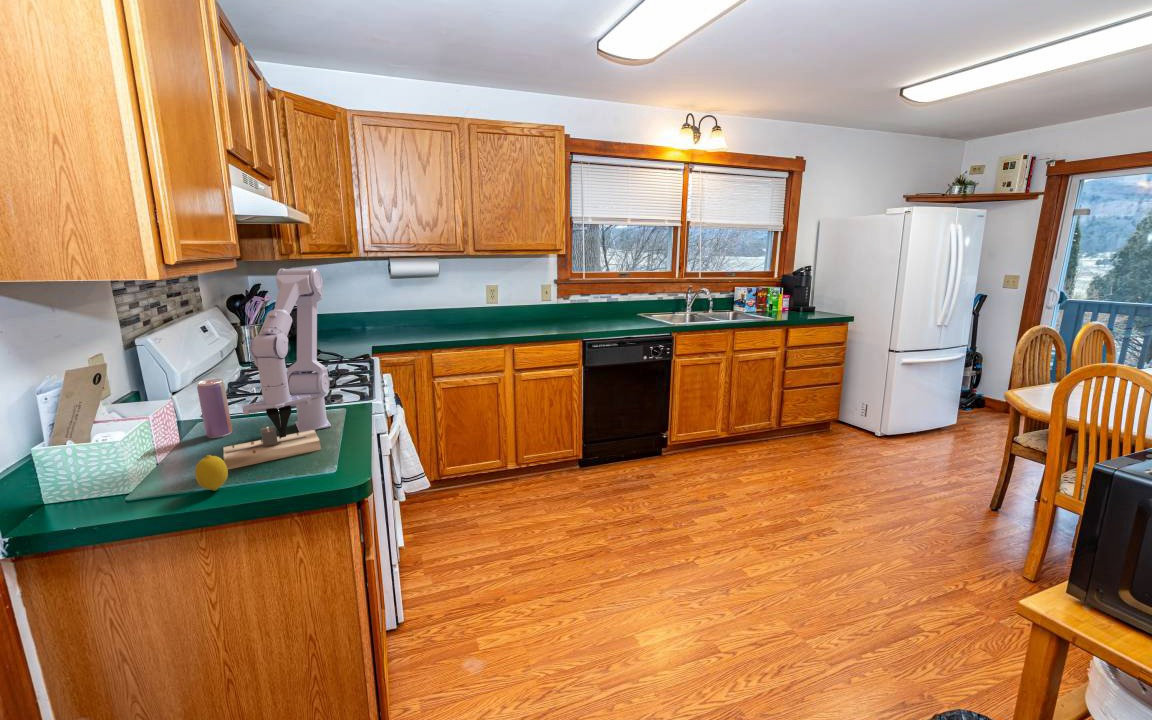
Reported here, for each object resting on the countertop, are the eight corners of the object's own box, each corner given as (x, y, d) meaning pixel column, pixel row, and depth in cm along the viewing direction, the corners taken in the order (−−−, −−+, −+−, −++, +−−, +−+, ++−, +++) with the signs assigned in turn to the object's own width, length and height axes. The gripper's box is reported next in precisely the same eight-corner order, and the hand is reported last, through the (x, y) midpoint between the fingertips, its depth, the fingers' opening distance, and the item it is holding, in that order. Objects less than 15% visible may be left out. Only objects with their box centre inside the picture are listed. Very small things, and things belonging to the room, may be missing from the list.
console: (225, 456, 125) (223, 446, 125) (315, 438, 136) (314, 429, 136) (225, 470, 118) (223, 459, 118) (320, 449, 129) (319, 439, 128)
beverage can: (219, 439, 136) (209, 385, 133) (200, 438, 137) (190, 384, 134) (238, 431, 142) (229, 379, 138) (220, 429, 143) (210, 378, 140)
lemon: (221, 482, 112) (214, 448, 110) (236, 487, 110) (229, 452, 108) (193, 493, 107) (186, 457, 106) (208, 499, 105) (201, 463, 103)
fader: (262, 441, 127) (260, 428, 126) (276, 438, 129) (274, 425, 128) (263, 446, 124) (261, 433, 123) (277, 443, 125) (275, 430, 125)
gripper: (239, 392, 117) (249, 448, 120) (310, 382, 125) (317, 434, 128) (238, 385, 123) (247, 438, 126) (306, 376, 131) (312, 426, 134)
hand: (282, 436), depth 128 cm, fingers closed
